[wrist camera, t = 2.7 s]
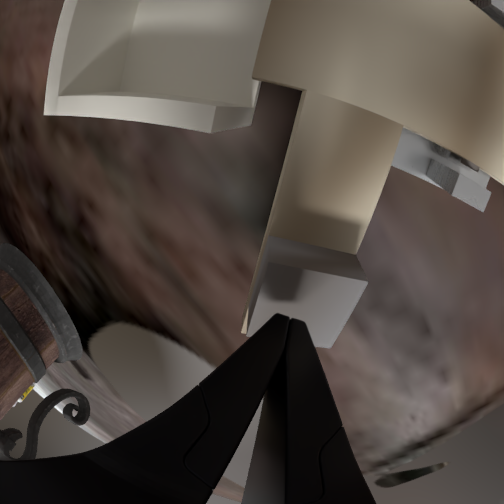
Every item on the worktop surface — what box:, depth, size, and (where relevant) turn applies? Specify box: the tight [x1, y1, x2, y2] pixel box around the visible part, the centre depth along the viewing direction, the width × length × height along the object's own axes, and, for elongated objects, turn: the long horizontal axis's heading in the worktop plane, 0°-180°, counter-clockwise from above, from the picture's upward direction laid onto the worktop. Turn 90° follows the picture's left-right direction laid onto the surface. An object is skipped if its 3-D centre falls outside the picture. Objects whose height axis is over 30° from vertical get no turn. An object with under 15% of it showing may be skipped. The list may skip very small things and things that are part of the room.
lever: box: [241, 0, 504, 348], centre depth 7 cm, size 16×15×2 cm
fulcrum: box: [391, 0, 504, 212], centre depth 6 cm, size 5×9×3 cm, turn 167°
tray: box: [44, 0, 271, 133], centre depth 7 cm, size 8×10×4 cm
